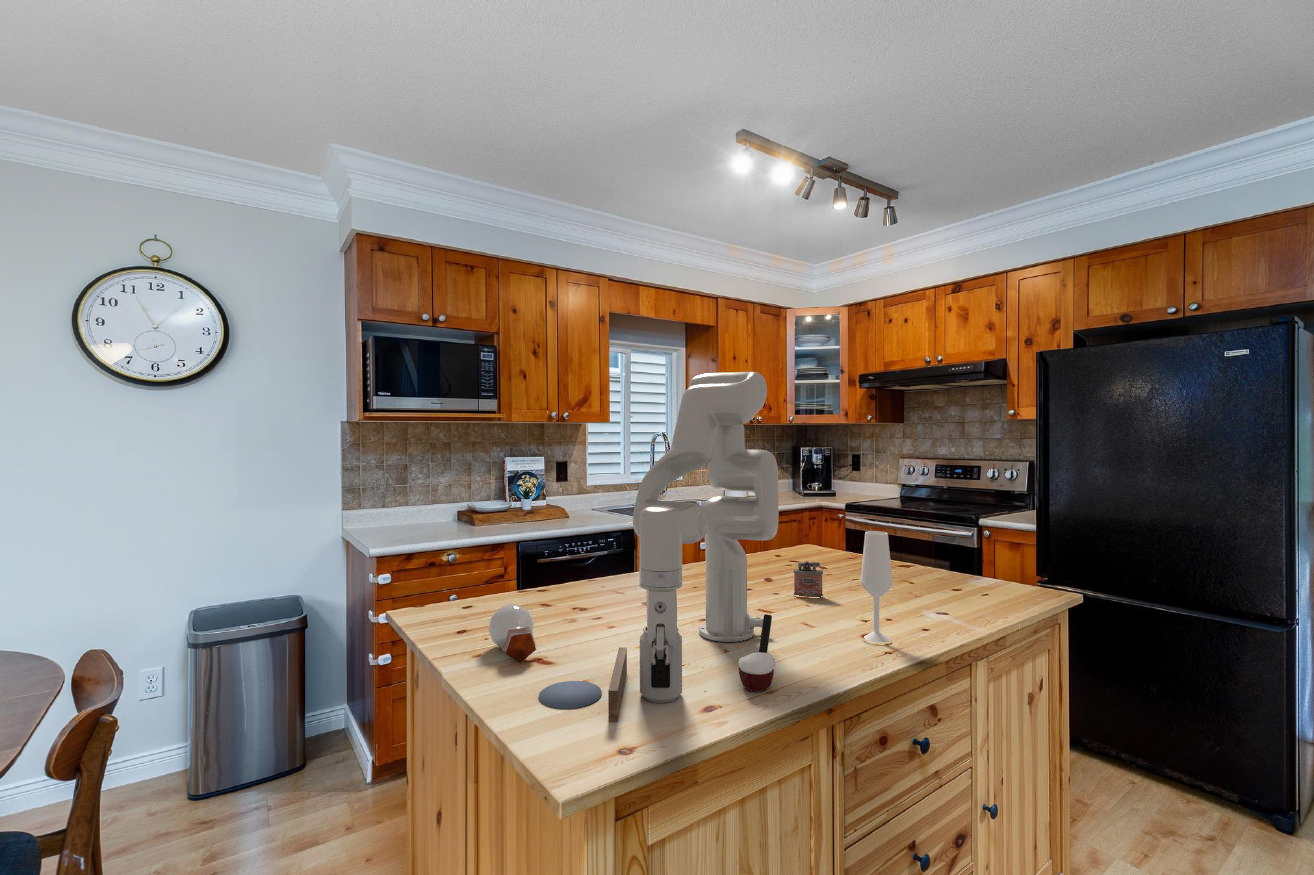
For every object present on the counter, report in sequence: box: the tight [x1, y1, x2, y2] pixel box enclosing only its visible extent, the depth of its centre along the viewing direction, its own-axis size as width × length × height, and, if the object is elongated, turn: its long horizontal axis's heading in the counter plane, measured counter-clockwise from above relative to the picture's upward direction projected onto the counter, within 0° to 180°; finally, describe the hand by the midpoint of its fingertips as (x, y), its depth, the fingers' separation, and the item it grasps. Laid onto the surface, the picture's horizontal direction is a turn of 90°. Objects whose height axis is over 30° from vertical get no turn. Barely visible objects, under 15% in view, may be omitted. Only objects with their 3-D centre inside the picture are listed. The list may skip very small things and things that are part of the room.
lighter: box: [793, 560, 824, 597], centre depth 175 cm, size 8×3×10 cm, turn 80°
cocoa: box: [737, 613, 776, 692], centre depth 113 cm, size 10×6×12 cm, turn 122°
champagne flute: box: [860, 530, 894, 642], centre depth 138 cm, size 7×7×24 cm
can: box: [639, 625, 683, 704], centre depth 109 cm, size 8×8×12 cm
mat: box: [538, 680, 603, 710], centre depth 109 cm, size 11×11×1 cm
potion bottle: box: [487, 603, 537, 663], centre depth 132 cm, size 9×10×15 cm
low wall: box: [607, 647, 628, 723], centre depth 109 cm, size 2×20×5 cm, turn 178°
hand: (661, 677), depth 109 cm, fingers closed on can, 7 cm apart
